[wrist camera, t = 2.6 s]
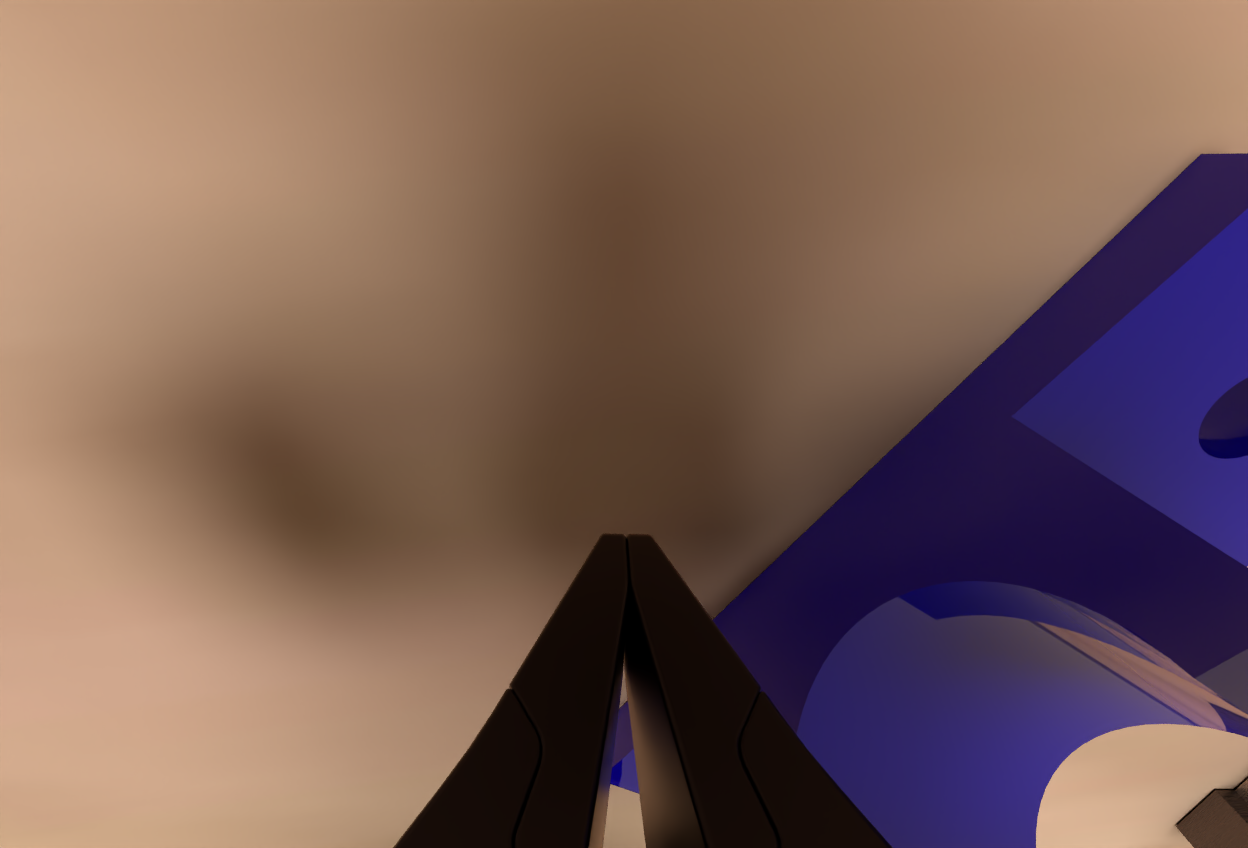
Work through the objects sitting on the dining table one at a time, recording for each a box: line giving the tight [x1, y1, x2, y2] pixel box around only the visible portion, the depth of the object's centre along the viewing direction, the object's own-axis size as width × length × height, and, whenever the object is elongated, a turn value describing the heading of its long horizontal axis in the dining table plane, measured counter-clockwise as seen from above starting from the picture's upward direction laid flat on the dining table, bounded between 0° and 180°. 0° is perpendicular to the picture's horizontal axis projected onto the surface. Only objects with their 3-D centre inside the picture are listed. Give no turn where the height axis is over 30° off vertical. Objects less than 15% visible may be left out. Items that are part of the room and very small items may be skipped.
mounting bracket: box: [610, 154, 1248, 848], centre depth 10 cm, size 18×7×6 cm, turn 146°
